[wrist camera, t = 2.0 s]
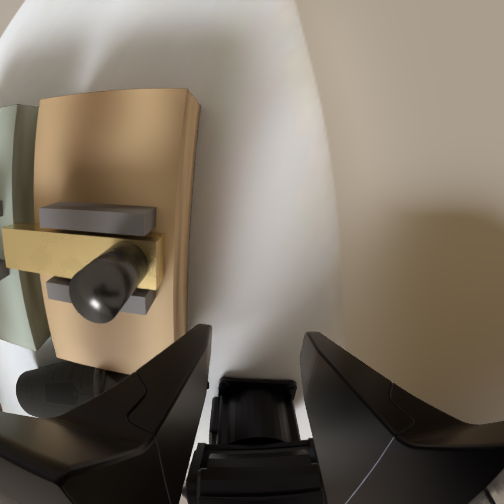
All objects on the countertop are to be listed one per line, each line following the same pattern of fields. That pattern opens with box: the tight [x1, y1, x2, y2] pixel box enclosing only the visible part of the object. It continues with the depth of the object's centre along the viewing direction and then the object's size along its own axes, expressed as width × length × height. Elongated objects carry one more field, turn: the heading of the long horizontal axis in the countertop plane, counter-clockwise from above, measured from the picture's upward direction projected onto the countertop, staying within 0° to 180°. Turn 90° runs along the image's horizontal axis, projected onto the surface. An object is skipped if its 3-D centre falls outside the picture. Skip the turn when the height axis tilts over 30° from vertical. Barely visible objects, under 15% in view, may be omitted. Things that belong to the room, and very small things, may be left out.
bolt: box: [2, 222, 165, 324], centre depth 12 cm, size 10×2×5 cm, turn 84°
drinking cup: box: [16, 361, 209, 418], centre depth 20 cm, size 8×8×20 cm
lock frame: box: [0, 89, 201, 374], centre depth 16 cm, size 20×17×7 cm
